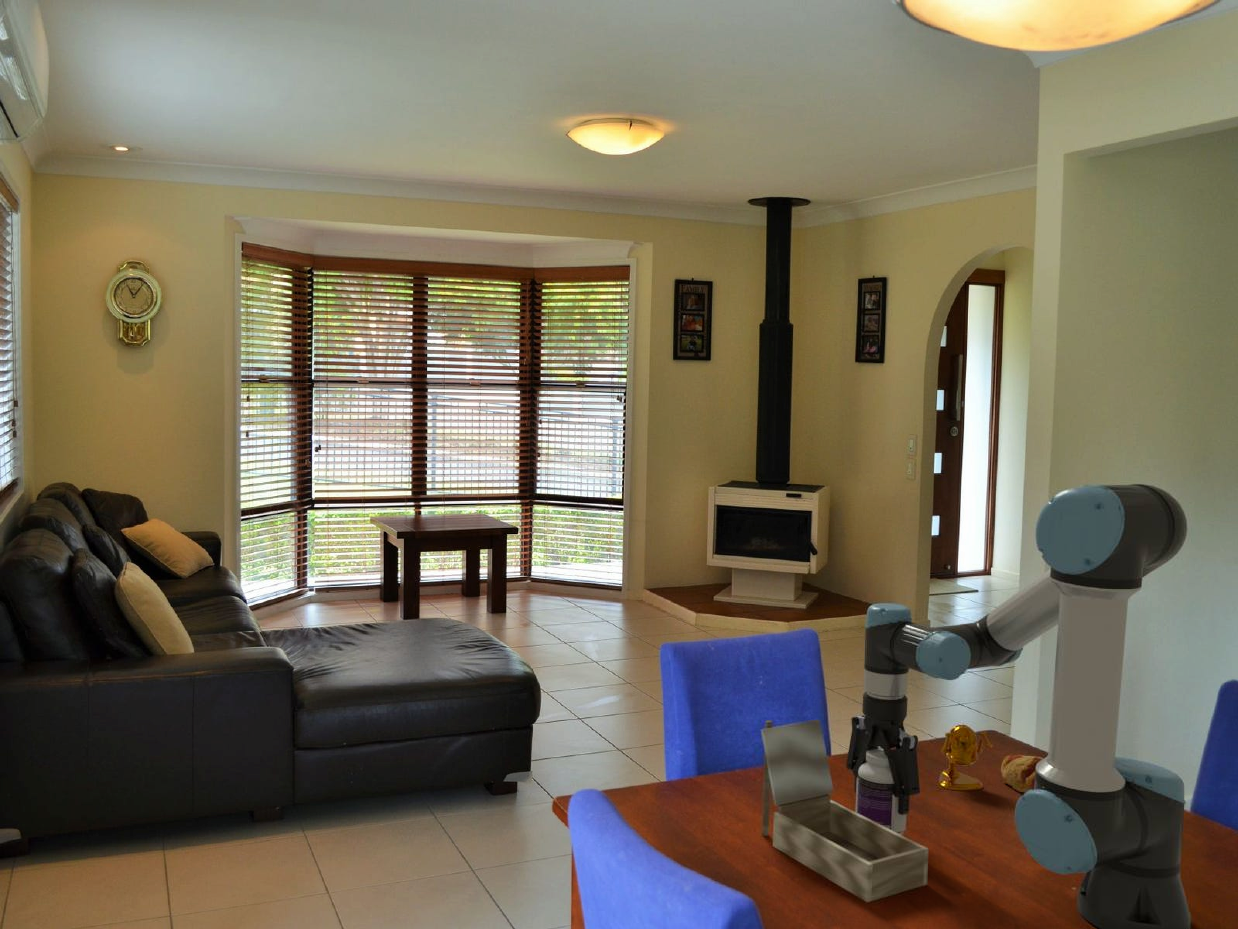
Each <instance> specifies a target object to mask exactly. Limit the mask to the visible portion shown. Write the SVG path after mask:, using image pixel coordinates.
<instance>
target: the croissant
mask: <svg viewBox="0 0 1238 929" xmlns="http://www.w3.org/2000/svg"><path fill="white" fill-rule="evenodd" d="M1043 759H1044V758H1043V757H1040V756H1033V755H1023V754H1013V755H1012V754H1011V755H1007V756H1005V757H1004V758H1003V760H1002V761H1001V762H1002V763H1001V766H1000V767H1001V768H1000V771H1001V775H1002V778H1003V783H1004V784H1007V785H1009V786H1010V787H1011V788H1012V789H1014V790H1016V791H1018V792H1019V793H1023V794H1025V793H1026V792H1027V791H1028V790H1034V782H1035V771H1036V765H1037V763H1038V762H1040V761H1041V760H1043Z"/></svg>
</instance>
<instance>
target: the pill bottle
mask: <svg viewBox="0 0 1238 929" xmlns="http://www.w3.org/2000/svg"><path fill="white" fill-rule="evenodd" d="M866 761H867V762H866V763H864V764H862V765H861V766H860V768H859V771H858V799H857V813H858V814H860V815H862V816H864V817H866V818H868V819H870V820H872V821H874V822H876V823H878V824H880V825H882V826H884V827H886V828H888V829H890V830H891V818H892V794H895V793H896V789H895V785H894V781H893V777H892V773H891V769H890V765H889V761H888V757H887V756H886V755H885V754H884V750H883V749H882V748H878V749H873V750H868V751H867V752H866ZM902 788H904V786H903V787H902ZM897 833H898V834H900V835H902V836H904V831H901V832H897Z"/></svg>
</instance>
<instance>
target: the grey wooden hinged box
mask: <svg viewBox="0 0 1238 929" xmlns="http://www.w3.org/2000/svg"><path fill="white" fill-rule="evenodd" d="M821 723H822V722H821V720H820V718H819V719H812V720H807V721H801V722H795V723H789V724H785V725H778V726H774V724H773V721H772V720H765V726H764V728H762V729H760V732H761V737H762V743H763V749H764V756H763V757H764V759H763V761H764V762H763V787H762V788H763V789H762V793H763V794H762V816H761V817H762V819H761V835H762V836H763V837H768V836H770V812H771V811H770V808H771V807H770V806H771V794H772V799H773V805H774V806H775V807H776V806H777V811H776V812H773V825H772V826H773V827H772V828H773V829H772V830H773V833H772V847H774V848H775V849H777V850H778V851H780V852H782V853H783V854H786V855H787V856H789V857H790V858H792V859H794V860H796V861H797V862H799V863H800V864H802V865H804V866H805V867H807V868H808V869H811V870H812V871H814V872H816V873H817V874H819V875H821V876H822V877H823V878H825V879H827V880H829V881H830V882H833V883H834V884H836V885H837V886H839V887H841V888H842V889H844V890H845V891H847V892H849V893H851V894H852V895H854V896H856V897H858V898H859V899H861V900H862V901H864V902H866V903H871V902H873V901H876V900H879V899H883V898H887V897H889V896H893V895H897V894H899V893H903V892H906V891H910V890H913V889H916V888H921V887H924V886H926V885H928V871H929V870H928V869H929V866H928V864H929V848H928V847H927V846H924V845H922V844H920V843H918V842H916V841H914V840H912V839H910V838H908V837H906V836H904V835H900V834H898V833H896V832H894V831H892V830H890V829H888V828H886V827H884V826H882V825H880V824H878V823H876V822H874V821H872V820H870V819H868V818H866V817H864V816H862V815H860V814H858V813H856V812H855V810H853V809H850V808H848V807H846V806H844V805H842V804H840V803H838V802H836V801H834V800H833V799H831V794H834V793H835V790H834V786H833V780H832V775H831V771H830V765H829V760H828V754H827V750H826V744H825V739H824V734H823V729H822V724H821Z"/></svg>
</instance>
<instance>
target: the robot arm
mask: <svg viewBox="0 0 1238 929" xmlns="http://www.w3.org/2000/svg"><path fill="white" fill-rule="evenodd" d="M1187 535H1188V521H1187V517H1186V513H1185V511H1184V509H1183V507H1182V506H1181V503H1180V502H1179V501H1178V500H1177V499H1176V498H1175V497H1174V496H1173V495H1172V494H1171V493H1169V492H1167V491H1165V490H1164V489H1162V488H1160V487H1157V486H1154V485H1150V484H1144V483H1134V484H1084V485H1080V486H1077V487H1070V488H1067V489H1064V490H1061V491H1060V492H1058V493H1056V494H1055V495H1053V497H1052V498H1050V499H1049V500H1047V502H1046V503H1045V505H1044V506H1043V507H1042V509H1041V510H1040V513H1039V515H1038V518H1037V521H1036V526H1035V541H1036V542H1035V543H1036V547H1037V550H1038V551H1039V552H1041V553H1042V554H1041V555H1042V556H1041V558H1042V559H1043V561H1044V562H1045V564H1047V565H1048V566H1049V567H1050V569H1048V570H1047V571H1045V572H1043V574H1041V575H1040V576H1038V577H1037V578H1036V579H1034V580H1033V581H1031V582H1029V583H1028V584H1027V585H1026V586H1024V587H1023V588H1022V589H1021V590H1020V589H1019V591H1018V592H1016V593H1015V594H1013V595H1012V596H1011V597H1009V598H1007V600H1005V601H1004V602H1002V603H1000V604H999V605H998V606H997V607H995V608H994V609H993V610H991V611H989V613H987V614H986V615H985V616H983V617H981V618H980V619H978V620H977V621H974V622H970V623H969V622H968V623H961V624H954V625H953V624H952V625H943V626H936V627H930V626H926V625H921V624H917V623H915V622H912V621H913V618H912V610H911V609H910V608H909V607H908V606H906V605H903V604H899V603H893V602H892V603H891V602H881V603H873V604H871V605H870V606H869V607H868V608H867V610H866V618H865V626H864V631H865V632H864V633H865V634H864V662H863V666H864V667H863V680H862V681H863V683H862V689H863V690H864V691H865V692H864V693H862V708H861V710H862V711H861V712H862V714H863V715H858V716H853V717H851V733H850V734H851V735H850V741H849V746H848V751H847V757H846V763H845V767H846V769H847V770H848V771H849V770H850V771H851V772H852V774H853V776H854V788H853V791H854V793H855V807H854V808H855V810H854V812H856V813H857V799H858V771H859V768H860V766H861V765H862V764H864V763H866V762H867V761H866V752H867V751H868V750H873V749H879V747H880V749H883V750H884V754H885V755H886V756H887V757H888V761H889V765H890V769H891V773H892V777H893V781H894V785H895V789H896V793H895V794H892V818H891V830H892V831H894V832H896V833H897V832H901V831H903V832H904V831H906V830H907V815H908V814H909V811H910V797H911V796H914V795H920V792H921V789H920V788H921V787H920V786H921V785H920V775H919V765H918V764H919V763H918V755H917V754H918V753H917V750H918V742H919V737H918V736H917V735H916V734H914V735H911V734H908V733H907V732H906V730H905V726H904V721H905V719H906V718H907V716H908V700H909V699H908V697H907V696H906V695H907V694H908V692H909V671H910V670H913V671H916V672H918V673H921V674H924V675H926V676H929V677H932V678H934V679H941V680H946V681H954V680H958V679H959V678H960V677H961V676H962V675H964V674H965V673H966V671H967V670H973V669H974V670H975V669H982V668H990V667H1001V666H1005V665H1007V664H1011V663H1014V662H1015V661H1016V660H1018V659H1019V658H1020V657H1021V654H1022V652H1023V650H1024V647H1025V646H1027V645H1028V644H1031V642H1033V641H1034V640H1036V639H1038V638H1039V637H1040V636H1042V635H1043V634H1045V633H1046V632H1048V631H1050V630H1051V629H1053V628H1054V627H1057V637H1056V649H1055V661H1054V662H1055V663H1054V675H1053V676H1054V677H1053V690H1052V702H1051V717H1050V726H1049V727H1050V729H1049V741H1048V754H1047V756H1046V757H1044V758H1043V760H1041V761H1040V762H1038V763H1037V765H1036V771H1035V782H1034V790H1028V791H1027V792H1026V793H1023V795H1022V796H1020V797H1019V798H1018V800H1017V802H1016V805H1015V808H1014V824H1015V828H1016V831H1017V835H1018V836H1019V839H1020V841H1021V843H1022V844H1023V845H1024V846H1025V848H1026V850H1027V852H1028V854H1029V855H1030V856H1031V857H1032V859H1034V860H1035V861H1036V862H1037V863H1038V864H1039V865H1040V866H1042V867H1043V868H1045V869H1047V870H1048V871H1050V872H1052V873H1055V874H1059V875H1072V874H1076V873H1079V874H1084V873H1085V875H1084V877H1083V879H1082V881H1081V884H1080V886H1079V888H1078V892H1077V910H1078V912H1079V914H1080V915H1081V917H1082V918H1084V920H1086V921H1087V922H1089V923H1090V924H1091V925H1094V926H1095V927H1096V928H1099V929H1191V925H1192V924H1191V921H1192V920H1191V919H1192V916H1191V911H1190V909H1189V906H1188V901H1187V900H1188V899H1187V897H1186V894H1185V889H1184V886H1183V883H1182V879H1181V860H1182V859H1181V858H1182V857H1181V856H1182V844H1183V842H1182V841H1183V830H1184V829H1183V827H1184V816H1185V815H1184V813H1185V805H1186V800H1185V783H1184V781H1183V779H1182V778H1181V777H1180V776H1179V774H1177V773H1176V772H1173V771H1172V770H1171V769H1167V768H1165V767H1162V766H1161V765H1157V764H1153V763H1150V762H1146V761H1143V760H1137V759H1132V758H1127V757H1122V756H1121V757H1119V756H1116V750H1117V749H1116V748H1117V739H1118V738H1117V737H1118V728H1119V726H1118V724H1119V716H1120V715H1119V714H1120V702H1121V690H1122V680H1123V679H1122V677H1123V666H1124V665H1123V664H1124V654H1125V642H1126V640H1125V639H1126V630H1127V618H1128V617H1127V616H1128V605H1129V599H1130V598H1131V597H1133V595H1135V594H1136V593H1138V592H1139V591H1140V590H1142V586H1143V585H1142V584H1143V578H1145V577H1146V576H1148V575H1149V574H1151V573H1152V572H1154V571H1155V570H1157V569H1158V568H1160V567H1162V566H1163V565H1165V564H1166V563H1168V562H1169V561H1170V560H1172V559H1173V558H1175V556H1176V555H1178V553H1179V552H1180V551H1181V549H1182V547H1183V546H1184V544H1185V542H1186V538H1187ZM894 748H895V749H894ZM903 786H904V788H902V787H903Z"/></svg>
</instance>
